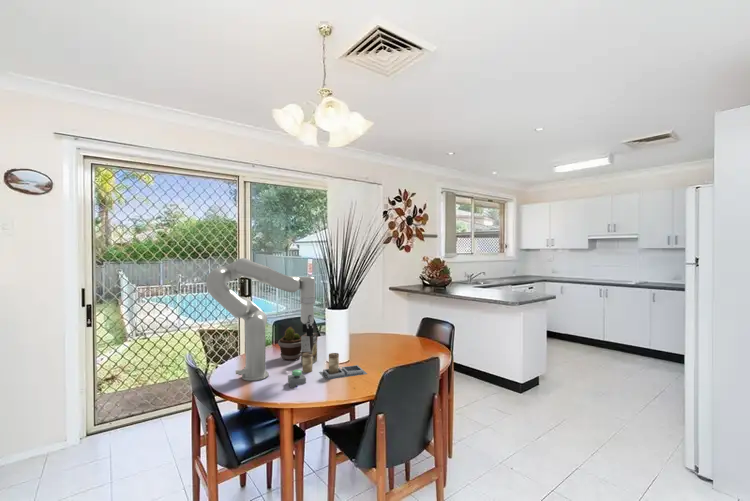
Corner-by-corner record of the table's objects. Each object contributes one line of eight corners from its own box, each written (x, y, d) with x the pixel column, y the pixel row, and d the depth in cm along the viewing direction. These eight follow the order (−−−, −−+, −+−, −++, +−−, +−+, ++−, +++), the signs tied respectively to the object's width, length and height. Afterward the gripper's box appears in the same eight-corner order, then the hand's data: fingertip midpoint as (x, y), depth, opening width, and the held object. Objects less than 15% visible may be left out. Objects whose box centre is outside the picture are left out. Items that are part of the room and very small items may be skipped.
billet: (303, 375, 183) (303, 355, 183) (301, 372, 188) (301, 352, 188) (313, 374, 185) (313, 354, 185) (311, 371, 190) (311, 351, 190)
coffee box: (311, 365, 199) (311, 336, 199) (300, 364, 200) (300, 335, 200) (317, 360, 208) (317, 332, 208) (307, 359, 209) (307, 332, 209)
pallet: (325, 382, 174) (325, 376, 174) (318, 374, 185) (318, 369, 185) (367, 376, 182) (367, 370, 182) (359, 369, 193) (359, 363, 193)
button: (293, 381, 168) (293, 373, 168) (291, 378, 172) (291, 370, 172) (302, 380, 170) (302, 372, 170) (300, 377, 174) (300, 369, 174)
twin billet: (330, 376, 178) (330, 355, 178) (327, 373, 183) (327, 352, 183) (340, 375, 180) (340, 354, 180) (336, 372, 185) (337, 351, 185)
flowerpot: (282, 354, 220) (282, 321, 220) (307, 355, 218) (307, 322, 218) (273, 361, 205) (273, 326, 205) (300, 362, 204) (300, 327, 204)
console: (290, 387, 167) (290, 380, 167) (288, 382, 173) (288, 375, 173) (305, 385, 169) (305, 378, 169) (302, 380, 176) (302, 373, 176)
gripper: (297, 299, 193) (297, 331, 193) (303, 303, 177) (303, 338, 177) (311, 298, 195) (311, 329, 195) (319, 302, 180) (319, 337, 180)
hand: (307, 333), depth 186 cm, fingers open, 9 cm apart
